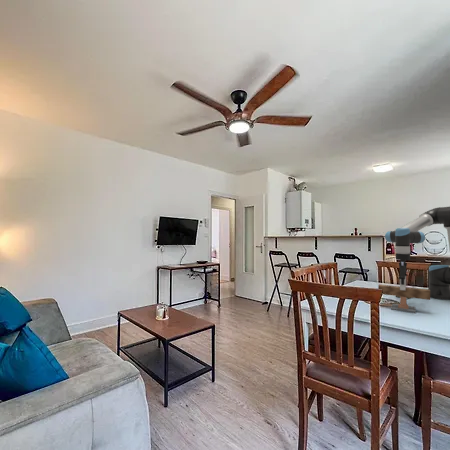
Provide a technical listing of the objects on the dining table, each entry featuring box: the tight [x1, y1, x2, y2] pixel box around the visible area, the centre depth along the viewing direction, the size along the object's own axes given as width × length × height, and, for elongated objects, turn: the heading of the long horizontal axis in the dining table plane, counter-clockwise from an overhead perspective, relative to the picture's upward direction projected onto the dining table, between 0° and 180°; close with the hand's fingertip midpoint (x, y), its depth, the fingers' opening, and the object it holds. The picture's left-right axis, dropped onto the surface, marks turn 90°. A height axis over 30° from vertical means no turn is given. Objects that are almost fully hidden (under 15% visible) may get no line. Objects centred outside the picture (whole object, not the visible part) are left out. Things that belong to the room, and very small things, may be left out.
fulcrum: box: [390, 296, 416, 314], centre depth 163 cm, size 12×12×8 cm
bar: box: [377, 284, 431, 301], centre depth 163 cm, size 26×5×5 cm, turn 55°
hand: (403, 288), depth 163 cm, fingers open, 13 cm apart
